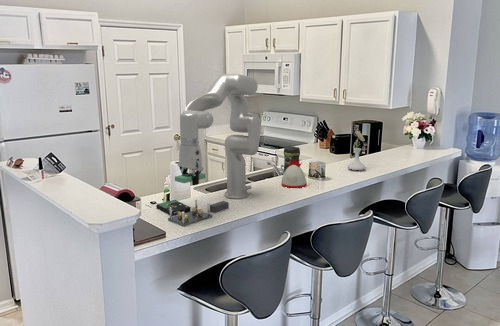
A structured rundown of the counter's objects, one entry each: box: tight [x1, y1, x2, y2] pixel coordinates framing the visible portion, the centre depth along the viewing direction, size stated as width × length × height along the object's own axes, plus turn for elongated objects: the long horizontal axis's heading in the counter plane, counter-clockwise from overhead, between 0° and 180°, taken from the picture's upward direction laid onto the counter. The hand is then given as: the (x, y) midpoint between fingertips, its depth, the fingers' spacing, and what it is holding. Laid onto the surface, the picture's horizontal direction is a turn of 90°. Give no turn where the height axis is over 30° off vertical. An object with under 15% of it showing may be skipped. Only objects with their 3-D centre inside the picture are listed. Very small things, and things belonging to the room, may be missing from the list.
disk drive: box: [155, 199, 192, 217], centre depth 204 cm, size 10×3×15 cm
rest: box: [210, 200, 230, 214], centre depth 204 cm, size 9×4×3 cm, turn 138°
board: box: [174, 172, 206, 184], centre depth 188 cm, size 12×6×3 cm, turn 138°
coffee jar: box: [282, 145, 301, 176], centre depth 263 cm, size 10×8×19 cm
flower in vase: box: [347, 130, 367, 171], centre depth 281 cm, size 13×11×25 cm
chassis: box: [167, 199, 213, 227], centre depth 191 cm, size 16×11×6 cm
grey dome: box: [281, 159, 307, 189], centre depth 244 cm, size 14×14×15 cm
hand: (190, 183), depth 189 cm, fingers closed on board, 6 cm apart
